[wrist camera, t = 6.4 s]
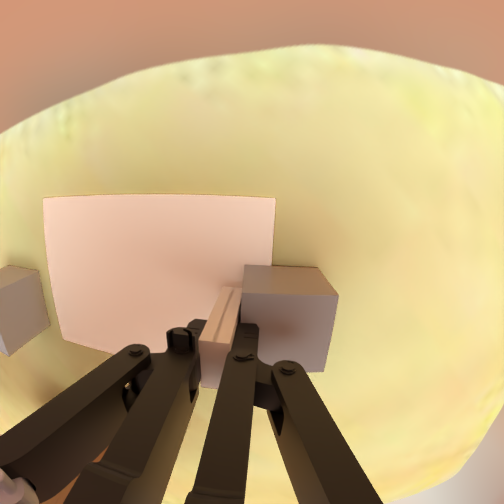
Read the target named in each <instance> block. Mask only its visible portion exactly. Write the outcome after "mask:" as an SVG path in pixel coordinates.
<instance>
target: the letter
mask: <svg viewBox="0 0 504 504" xmlns="http://www.w3.org/2000/svg"><path fill="white" fill-rule="evenodd" d="M275 204H276V198H266V197H248V196H226V195H193V194H117V195H86V196H66V197H50V198H43V214H44V232H45V244H46V253H47V262H48V269H49V276H50V282H51V288H52V293H53V298H54V303H55V308H56V313H57V317H58V321H59V325H60V329H61V333H62V337H63V339H64V340H67V341H70V342H73V343H76V344H79V345H83V346H86V347H90V348H93V349H97V350H100V351H104V352H108V353H112V354H116V353H118V352H119V351H120V350H122V349H123V348H124V347H126V346H128V345H131V344H143V345H145V346H147V347H148V348H149V349H150V353H162V352H165V351H166V350H167V348H168V347H167V337H166V332H167V331H168V330H170V329H172V328H176V327H185V328H186V327H187V325H188V323H189V322H191V321H192V320H194V319H203V320H208V318H209V316H210V314H211V311H212V309H213V307H214V305H215V303H216V301H217V298H218V296H219V294H220V292H221V290H222V288H223V287H235V288H242V284H243V274H244V265H265V266H271V264H272V250H273V235H274V220H275Z"/></svg>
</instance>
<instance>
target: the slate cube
mask: <svg viewBox="0 0 504 504" xmlns="http://www.w3.org/2000/svg"><path fill="white" fill-rule="evenodd" d="M49 326H50V322H49V318H48V314H47V310H46V305H45V300H44V296H43V291H42V285H41V279H40V273H39V271H38V270H32V269H27V268H21V267H16V266H11V265H8V266H6V267H3V268H1V269H0V352H2V353H4V354H6V355H7V356H10V355H12V354H13V353H14V352H15V351H17V350H18V349H19V348H21V347H22V346H23V345H25V344H26V343H27V342H29V341H30V340H31V339H33V338H34V337H35V336H37V335H38V334H39V333H41V332H42V331H43V330H45V329H46V328H47V327H49Z"/></svg>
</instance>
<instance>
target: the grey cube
mask: <svg viewBox="0 0 504 504" xmlns="http://www.w3.org/2000/svg"><path fill="white" fill-rule="evenodd" d="M338 297H339V295H338V294H337V292H336V291H335V290H334V288H333V287H332V286H331V284H330V283H329V282H328V281H327V279H326V278H325V277H324V275H323V274H322V273H321V271H320V270H319V269H318V268H312V267H288V266H265V265H244V274H243V284H242V297H241V323H254V324H257V326H258V327H259V340H258V354H257V356H258V358H259V360H261V361H262V362H263V363H265V364H268V365H271V366H273V365H274V364H275V363H276V362H278V361H282V360H291V361H295V362H297V363H299V364H300V365H301V366H302V367H303V368H304V370H305V372H324V368H325V364H326V359H327V355H328V350H329V345H330V340H331V335H332V330H333V325H334V320H335V314H336V309H337V303H338Z"/></svg>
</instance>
